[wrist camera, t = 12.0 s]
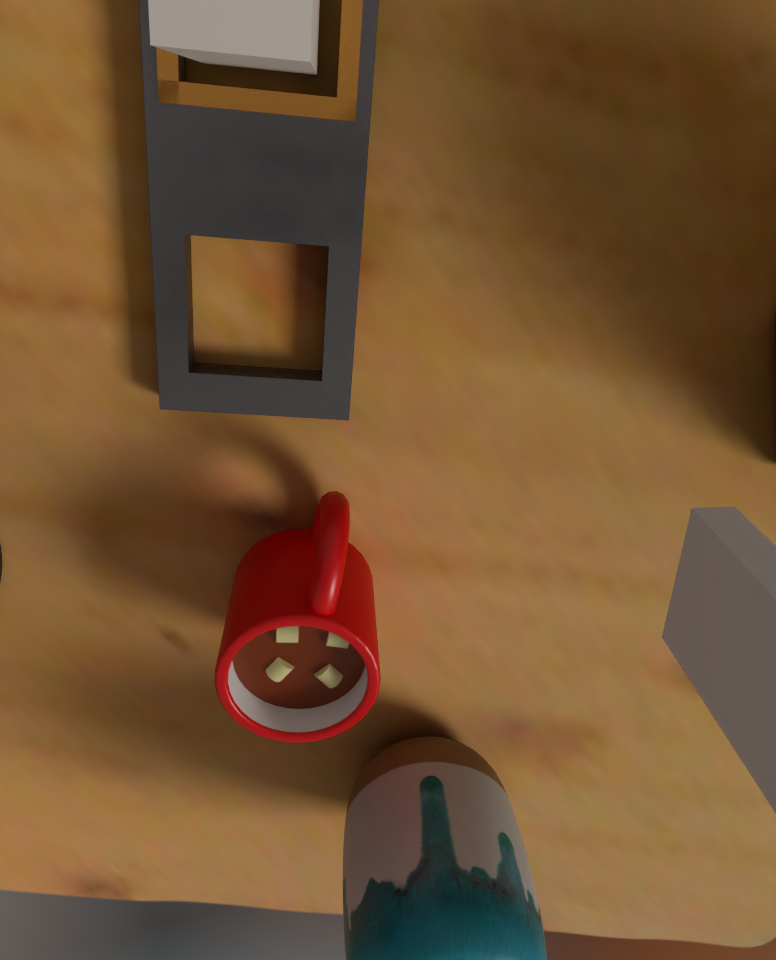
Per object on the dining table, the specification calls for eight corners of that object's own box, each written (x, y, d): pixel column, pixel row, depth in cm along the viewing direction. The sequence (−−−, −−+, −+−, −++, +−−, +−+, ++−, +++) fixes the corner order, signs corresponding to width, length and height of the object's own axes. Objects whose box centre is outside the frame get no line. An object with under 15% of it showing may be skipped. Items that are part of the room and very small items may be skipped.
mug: (404, 475, 39) (419, 555, 32) (357, 651, 44) (361, 753, 37) (256, 448, 38) (239, 525, 31) (225, 632, 43) (204, 734, 36)
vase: (324, 810, 50) (320, 1171, 33) (364, 694, 46) (382, 1041, 29) (471, 830, 52) (538, 1182, 35) (523, 720, 48) (627, 1061, 31)
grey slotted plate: (166, 398, 37) (158, 410, 35) (140, -174, 27) (128, -192, 25) (348, 409, 37) (349, 421, 36) (386, -142, 28) (390, -156, 26)
